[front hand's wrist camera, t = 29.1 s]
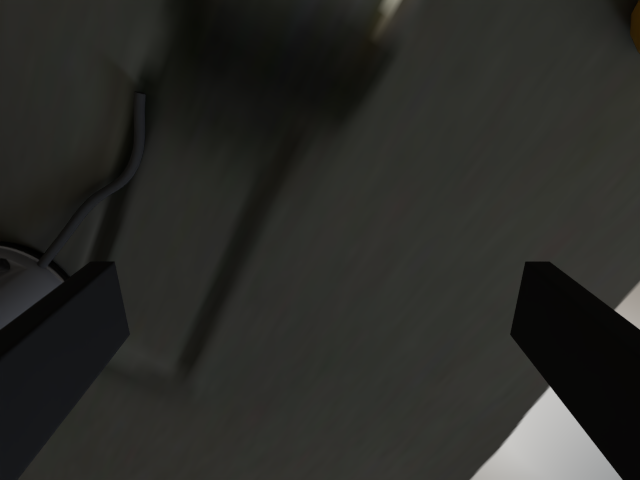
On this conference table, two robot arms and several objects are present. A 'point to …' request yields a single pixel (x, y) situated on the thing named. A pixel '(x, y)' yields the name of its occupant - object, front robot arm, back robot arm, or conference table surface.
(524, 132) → the conference table surface
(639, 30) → the yellow bell pepper
